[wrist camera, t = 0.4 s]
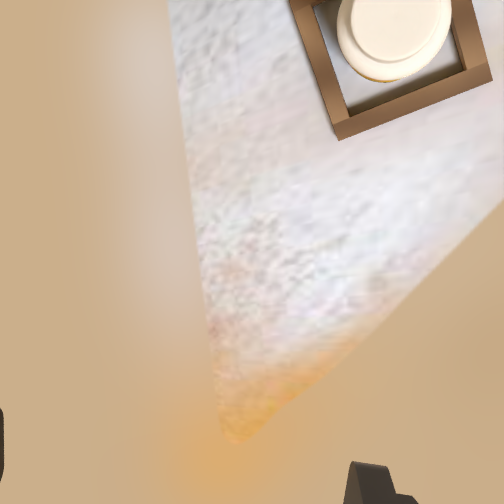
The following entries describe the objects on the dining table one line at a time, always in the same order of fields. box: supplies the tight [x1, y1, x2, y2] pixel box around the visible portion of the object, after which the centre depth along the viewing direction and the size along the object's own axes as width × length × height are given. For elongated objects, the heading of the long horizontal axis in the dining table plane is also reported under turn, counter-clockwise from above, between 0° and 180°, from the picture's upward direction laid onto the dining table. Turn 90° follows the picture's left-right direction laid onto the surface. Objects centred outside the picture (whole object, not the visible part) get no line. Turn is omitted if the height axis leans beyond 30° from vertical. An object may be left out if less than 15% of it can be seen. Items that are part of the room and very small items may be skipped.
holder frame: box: [289, 0, 493, 141], centre depth 29 cm, size 10×10×1 cm
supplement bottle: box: [337, 0, 452, 83], centre depth 25 cm, size 6×6×10 cm
